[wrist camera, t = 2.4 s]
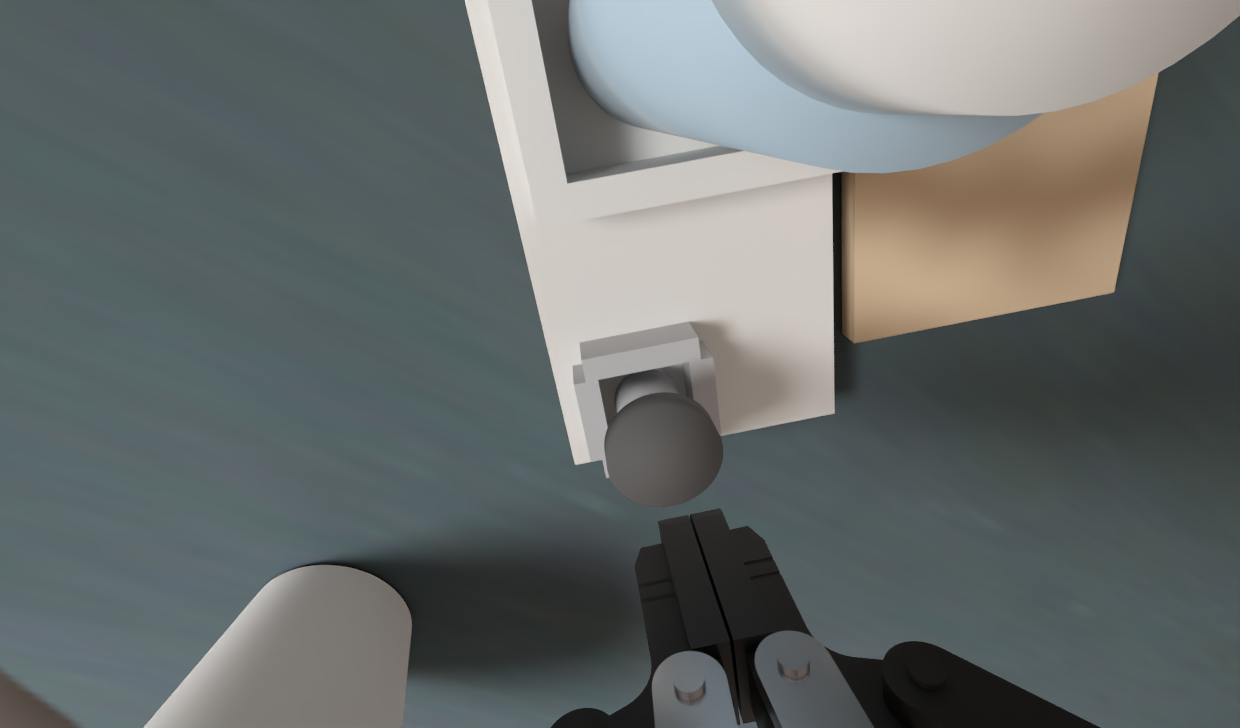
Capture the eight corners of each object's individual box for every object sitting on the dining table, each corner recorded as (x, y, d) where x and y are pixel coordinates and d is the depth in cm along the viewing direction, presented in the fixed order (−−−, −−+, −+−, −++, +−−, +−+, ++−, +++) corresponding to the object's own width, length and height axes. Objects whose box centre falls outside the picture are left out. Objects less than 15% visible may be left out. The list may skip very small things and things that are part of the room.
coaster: (840, 40, 18) (856, 37, 17) (1146, -15, 18) (1177, -21, 17) (841, 333, 22) (854, 343, 21) (1091, 285, 22) (1113, 292, 22)
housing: (442, -118, 15) (407, -188, 12) (804, -180, 16) (879, -267, 12) (573, 443, 23) (577, 506, 19) (818, 395, 23) (867, 448, 20)
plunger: (589, 363, 19) (596, 419, 16) (687, 343, 20) (717, 396, 16) (606, 447, 21) (617, 517, 17) (698, 429, 21) (727, 494, 17)
